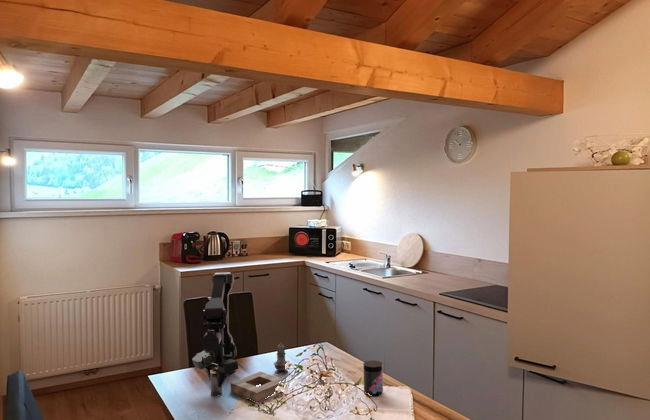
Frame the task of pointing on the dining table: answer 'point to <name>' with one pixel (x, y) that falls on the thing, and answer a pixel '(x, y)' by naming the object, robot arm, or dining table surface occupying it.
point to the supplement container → (373, 377)
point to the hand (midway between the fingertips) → (216, 385)
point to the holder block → (249, 389)
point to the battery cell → (214, 383)
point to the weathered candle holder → (280, 360)
